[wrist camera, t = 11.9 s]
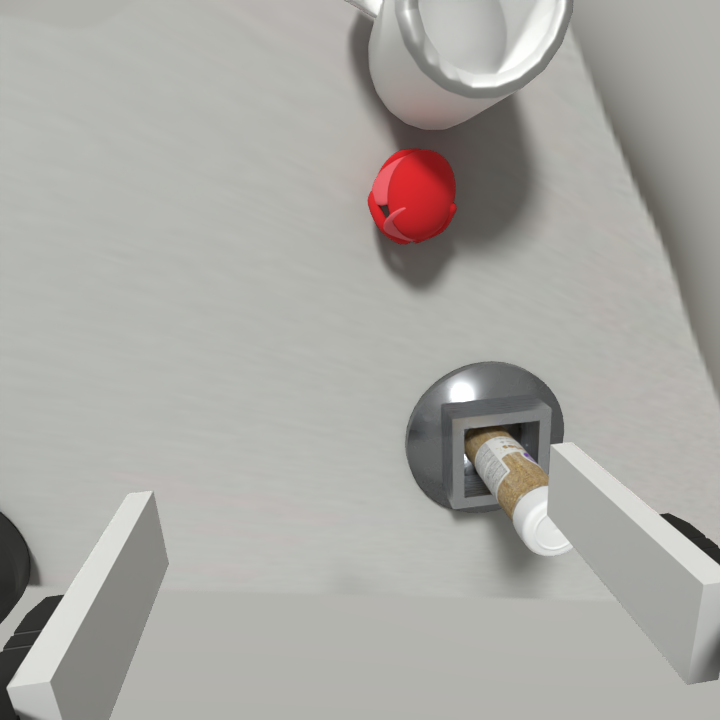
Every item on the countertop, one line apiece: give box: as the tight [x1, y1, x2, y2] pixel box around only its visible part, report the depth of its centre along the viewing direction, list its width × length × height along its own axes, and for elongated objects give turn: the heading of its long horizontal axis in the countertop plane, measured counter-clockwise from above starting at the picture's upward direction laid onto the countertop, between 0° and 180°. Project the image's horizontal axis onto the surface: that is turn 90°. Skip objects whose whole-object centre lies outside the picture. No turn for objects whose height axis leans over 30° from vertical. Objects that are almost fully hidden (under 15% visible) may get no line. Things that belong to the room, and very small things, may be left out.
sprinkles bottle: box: [464, 425, 574, 557], centre depth 39 cm, size 5×5×13 cm
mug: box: [345, 0, 573, 130], centre depth 31 cm, size 14×10×11 cm
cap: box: [368, 149, 457, 244], centre depth 37 cm, size 8×6×6 cm
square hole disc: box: [405, 362, 564, 513], centre depth 44 cm, size 15×15×4 cm
